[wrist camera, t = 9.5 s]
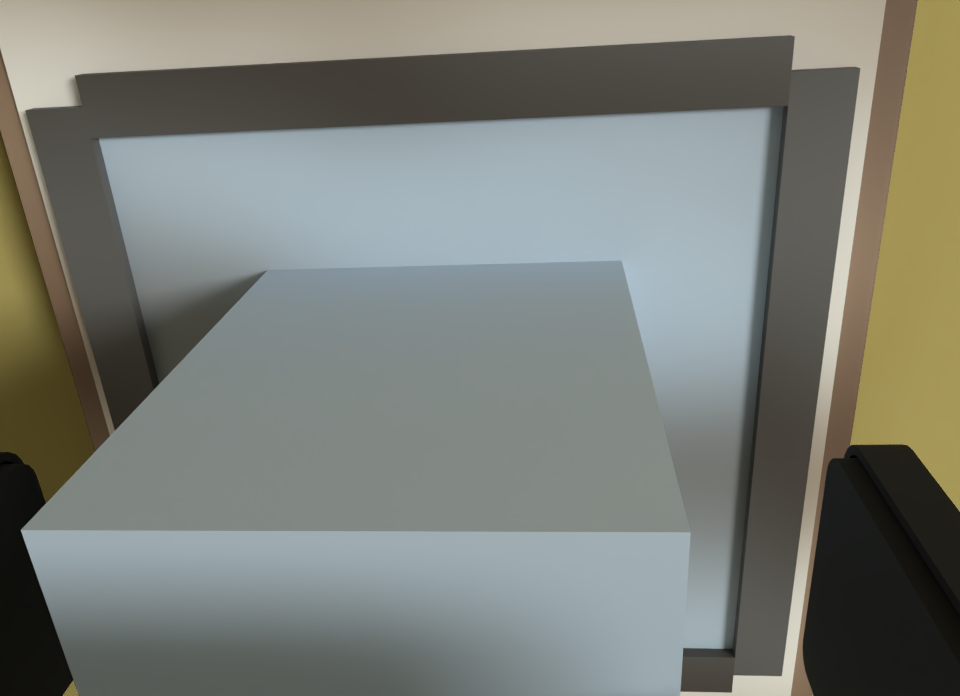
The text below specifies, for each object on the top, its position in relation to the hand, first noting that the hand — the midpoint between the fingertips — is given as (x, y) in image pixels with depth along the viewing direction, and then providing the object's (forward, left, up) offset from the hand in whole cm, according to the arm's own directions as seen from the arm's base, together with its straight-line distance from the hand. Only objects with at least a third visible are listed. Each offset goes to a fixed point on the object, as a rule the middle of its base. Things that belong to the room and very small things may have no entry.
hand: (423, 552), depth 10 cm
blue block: (0, 0, -3) cm, 3 cm away
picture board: (0, 0, -4) cm, 4 cm away
